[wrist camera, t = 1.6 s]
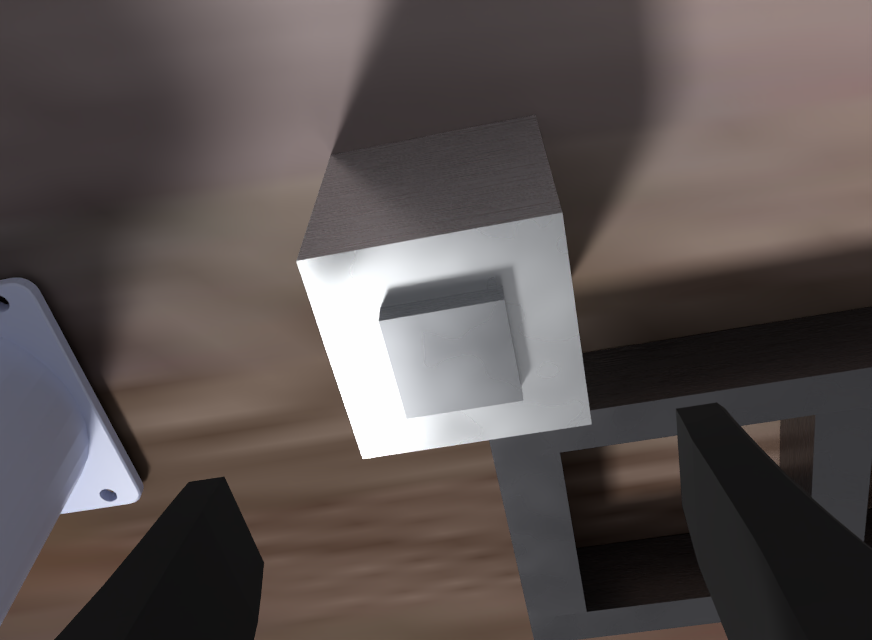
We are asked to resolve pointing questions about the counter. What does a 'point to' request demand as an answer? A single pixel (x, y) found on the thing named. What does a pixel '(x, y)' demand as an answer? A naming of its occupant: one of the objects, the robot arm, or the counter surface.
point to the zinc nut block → (446, 290)
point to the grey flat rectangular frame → (656, 417)
